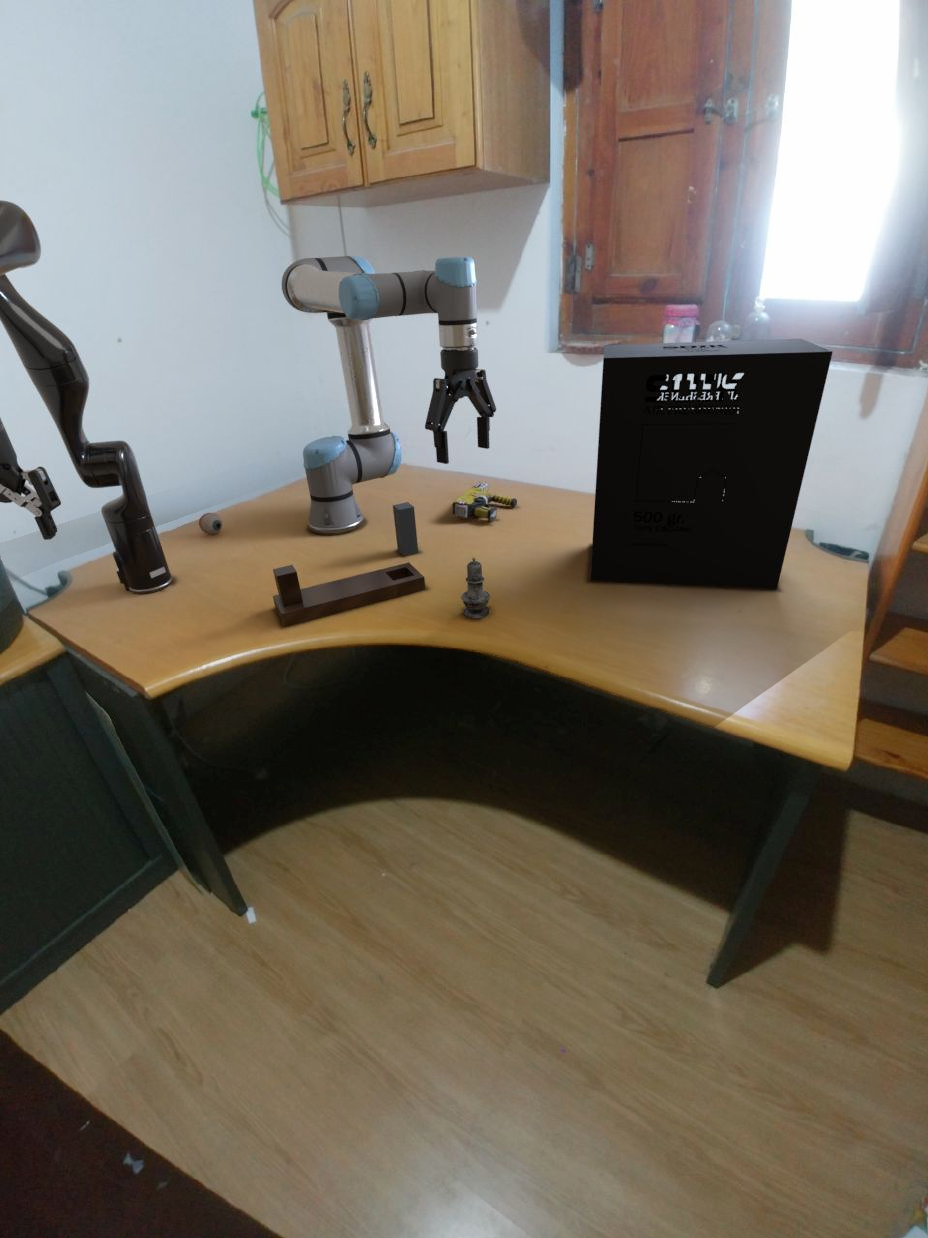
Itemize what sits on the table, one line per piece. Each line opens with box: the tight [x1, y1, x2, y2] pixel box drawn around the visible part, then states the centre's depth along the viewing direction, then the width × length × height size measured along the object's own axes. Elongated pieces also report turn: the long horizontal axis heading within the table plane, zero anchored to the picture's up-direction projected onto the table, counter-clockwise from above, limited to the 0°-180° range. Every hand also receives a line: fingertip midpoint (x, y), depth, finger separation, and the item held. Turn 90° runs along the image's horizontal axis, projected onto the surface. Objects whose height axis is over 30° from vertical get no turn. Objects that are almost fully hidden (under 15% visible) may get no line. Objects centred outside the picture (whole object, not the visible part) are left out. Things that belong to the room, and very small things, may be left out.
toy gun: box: [451, 480, 518, 523], centre depth 174 cm, size 5×24×15 cm
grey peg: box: [392, 501, 419, 557], centre depth 148 cm, size 4×4×12 cm
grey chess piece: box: [460, 557, 491, 619], centre depth 119 cm, size 6×6×12 cm
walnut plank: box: [272, 562, 426, 627], centre depth 128 cm, size 31×9×10 cm, turn 116°
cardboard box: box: [589, 338, 834, 590], centre depth 125 cm, size 38×20×45 cm, turn 78°
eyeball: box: [198, 512, 223, 536], centre depth 167 cm, size 6×6×6 cm
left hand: (21, 539), depth 91 cm, fingers open, 8 cm apart
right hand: (463, 455), depth 130 cm, fingers open, 13 cm apart
